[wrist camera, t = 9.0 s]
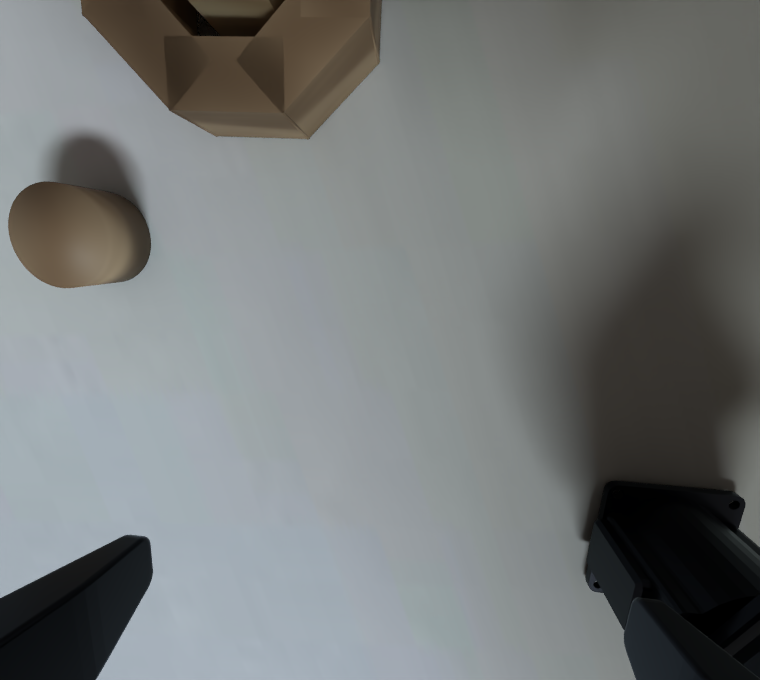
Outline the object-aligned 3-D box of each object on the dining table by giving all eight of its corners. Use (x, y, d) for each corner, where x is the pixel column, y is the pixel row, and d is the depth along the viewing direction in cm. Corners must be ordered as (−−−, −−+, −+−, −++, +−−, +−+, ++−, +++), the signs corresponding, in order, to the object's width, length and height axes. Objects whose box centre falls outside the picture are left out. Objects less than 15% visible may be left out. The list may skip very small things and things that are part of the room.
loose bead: (147, 192, 19) (98, 183, 16) (155, 284, 20) (111, 290, 17) (62, 189, 19) (-1, 179, 16) (75, 280, 20) (18, 285, 17)
